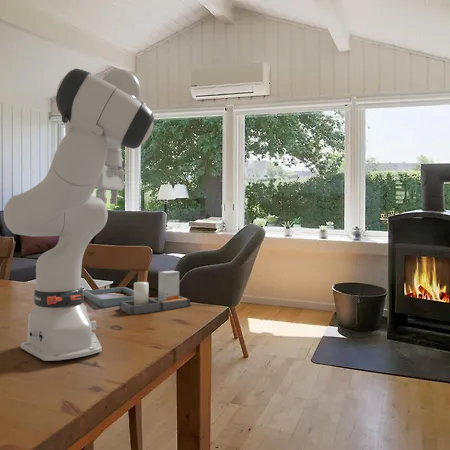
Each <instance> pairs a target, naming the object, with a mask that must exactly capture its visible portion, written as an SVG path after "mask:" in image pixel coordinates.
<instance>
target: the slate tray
mask: <svg viewBox="0 0 450 450" xmlns="http://www.w3.org/2000/svg"><path fill="white" fill-rule="evenodd" d="M117 292H118V293H119V292H124V293H126V294H128V295H127V296H118V297H108V298H101V297H100V296H98V295H104V294H103V293H105V294H112V293H117ZM83 293H84V296H85V297H84V298H86V299H87V298H88V299H87V300H89V301H90V300H91V301H90V302H92V303H93V304H94V305H96V306H97V305H98V306H97V307H99V309H100V308H101V309H105V308H111V307H116V306H117V307H118V306H119V302H123V301H132V300H134V289H132V288H129V287H126V286H119V287H118V286H117V287H109V288H98V289H89V290H88V289H87V290H83ZM95 294H97V295H95Z"/></svg>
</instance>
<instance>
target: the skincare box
mask: <svg viewBox="0 0 450 450" xmlns="http://www.w3.org/2000/svg"><path fill="white" fill-rule="evenodd" d="M157 292H158V297H157V298H158V301H159V302H162V301H167V300H175V299H179V296H180V271H178V270H164V271H158V291H157Z"/></svg>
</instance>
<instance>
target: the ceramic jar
mask: <svg viewBox="0 0 450 450" xmlns="http://www.w3.org/2000/svg"><path fill="white" fill-rule="evenodd" d="M149 288H150V287H149V281H136V282H133V290H134V306H136V305H144V304H149V296H150V295H149V292H150V291H149V290H150V289H149Z"/></svg>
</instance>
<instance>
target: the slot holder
mask: <svg viewBox="0 0 450 450" xmlns="http://www.w3.org/2000/svg"><path fill="white" fill-rule="evenodd" d="M118 306H119V310H120V311H122V312H124V313H125V314H128V315H131V316H133V315H139V314H140V315H141V314H146V313H157V312H162V311H168V310H175V309H179V308H185V307H190V306H191V299H190V298H188V297H184V296H180V295H179V299H175V300H167V301H162V302H159V301H158V297H152V298H151V297H150V298H149V304H144V305H136V306H134V300H132V301H123V302H119V305H118Z"/></svg>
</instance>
